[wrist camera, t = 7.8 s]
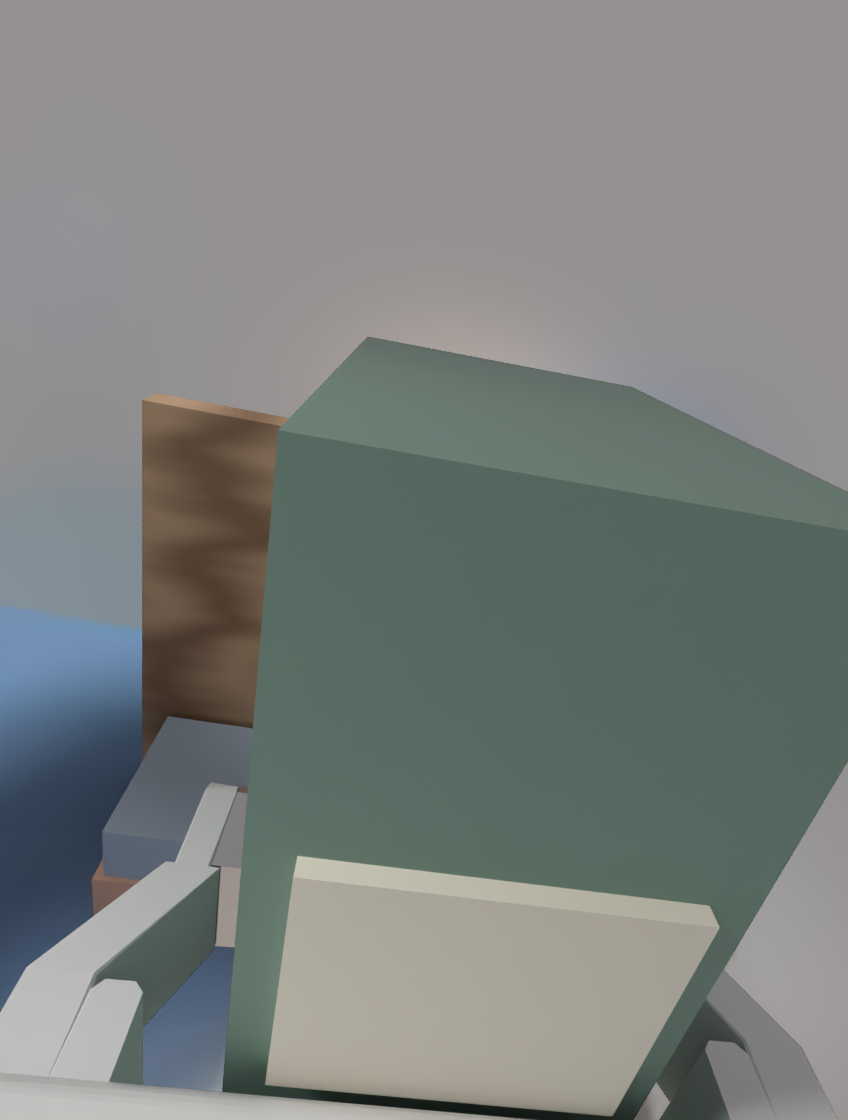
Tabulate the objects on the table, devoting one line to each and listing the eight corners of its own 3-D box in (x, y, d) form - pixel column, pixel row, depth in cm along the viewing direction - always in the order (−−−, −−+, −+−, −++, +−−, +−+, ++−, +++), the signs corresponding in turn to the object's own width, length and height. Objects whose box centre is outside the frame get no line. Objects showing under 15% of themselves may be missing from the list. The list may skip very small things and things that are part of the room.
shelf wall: (142, 782, 32) (142, 400, 24) (153, 761, 33) (157, 393, 25) (513, 832, 34) (633, 492, 25) (509, 811, 35) (623, 481, 27)
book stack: (93, 919, 25) (89, 834, 23) (160, 788, 32) (161, 712, 30) (281, 941, 26) (293, 860, 24) (309, 808, 33) (320, 735, 31)
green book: (189, 1447, 11) (270, 438, 3) (276, 1004, 17) (367, 336, 10) (443, 1457, 11) (998, 566, 4) (433, 1020, 18) (631, 387, 10)
